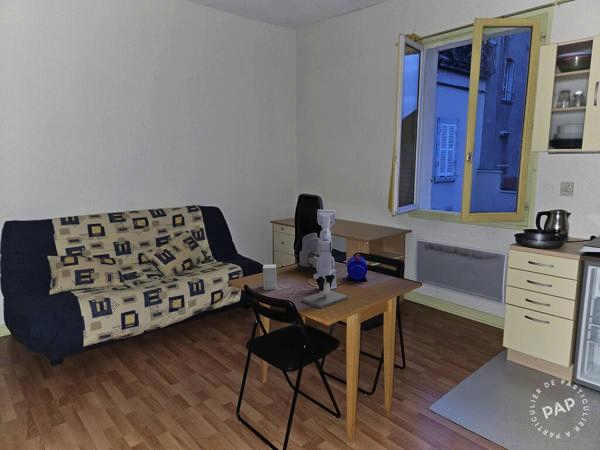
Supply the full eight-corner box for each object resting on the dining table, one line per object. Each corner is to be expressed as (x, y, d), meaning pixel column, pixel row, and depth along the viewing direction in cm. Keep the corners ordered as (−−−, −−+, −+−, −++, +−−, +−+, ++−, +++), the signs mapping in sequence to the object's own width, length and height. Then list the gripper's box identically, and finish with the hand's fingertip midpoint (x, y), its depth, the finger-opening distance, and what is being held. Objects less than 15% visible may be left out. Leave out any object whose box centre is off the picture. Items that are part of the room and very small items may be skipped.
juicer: (291, 267, 276) (291, 230, 272) (311, 263, 285) (311, 228, 281) (318, 278, 252) (318, 238, 248) (339, 274, 261) (339, 235, 256)
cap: (324, 290, 217) (324, 280, 216) (331, 292, 213) (331, 282, 212) (318, 292, 213) (318, 282, 213) (325, 294, 210) (325, 284, 209)
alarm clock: (366, 276, 255) (367, 252, 252) (367, 282, 243) (368, 257, 240) (346, 276, 256) (347, 252, 253) (346, 282, 244) (347, 257, 241)
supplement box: (276, 285, 238) (276, 264, 235) (276, 289, 230) (276, 267, 228) (263, 285, 237) (263, 264, 235) (263, 289, 230) (262, 267, 228)
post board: (328, 292, 226) (328, 283, 225) (348, 298, 215) (348, 289, 215) (301, 301, 212) (301, 291, 211) (320, 308, 202) (320, 298, 201)
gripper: (320, 268, 203) (320, 294, 205) (340, 262, 212) (340, 288, 215) (310, 265, 208) (310, 291, 210) (330, 260, 218) (330, 285, 220)
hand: (324, 289), depth 213 cm, fingers closed on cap, 5 cm apart
